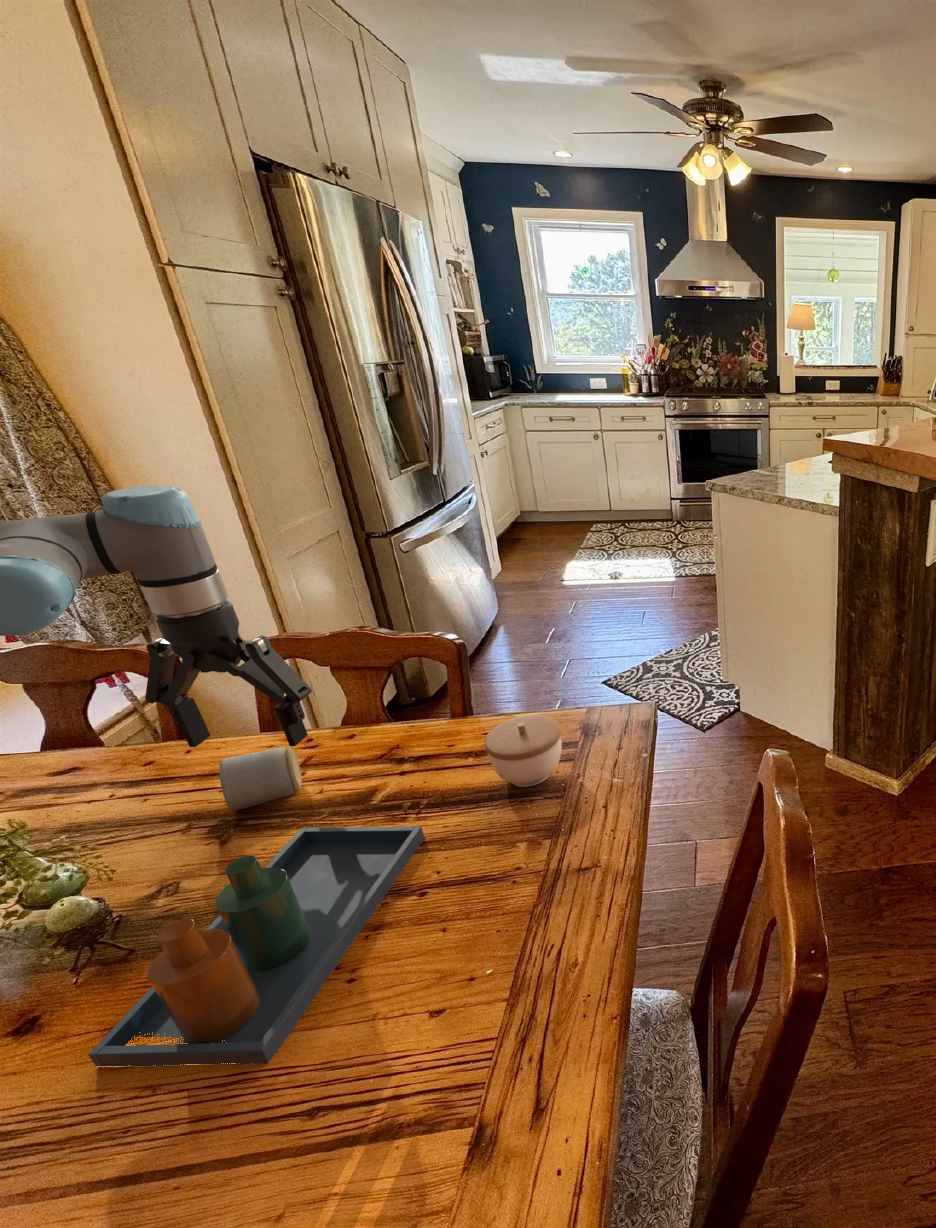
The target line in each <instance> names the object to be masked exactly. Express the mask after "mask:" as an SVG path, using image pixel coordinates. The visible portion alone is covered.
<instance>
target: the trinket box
mask: <svg viewBox="0 0 936 1228" xmlns="http://www.w3.org/2000/svg"><path fill="white" fill-rule="evenodd" d="M484 748H485V750H486V753H487V757H488V759H489V762H490V765H491V767H492V769H493V770H494V772H495V774H497V776H498V777H500V779H502V780H504V781H505V782H507V783H509V784H512V785H514V786H516V787H521V788H527V787H533V786H536V785H539V784H541V783H543V782H544V781H546V779H548V778H549V777H550V776H551V774H552V773H553V772H554V770H555V769H556V768H557V766H558V765H559V762H560V760H561V758H562V750H563V741H562V730H561V724H560V723H559V722H558V720H556V719H555V718H553V717H551V716H549V715H544V714H525V715H519V716H516V717H512V718H510V719H507V720H504V721H502V722H500V723H498V724H497V725H495V726H494V727H493V728H492V729H490V731H489V732H487V734H486V736H485V738H484Z"/></svg>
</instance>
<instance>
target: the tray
mask: <svg viewBox="0 0 936 1228" xmlns="http://www.w3.org/2000/svg"><path fill="white" fill-rule="evenodd" d="M424 840H425V834H424V832H423V827H422V826H339V827H338V826H337V827H336V826H332V827H331V826H329V827H328V826H327V827H323V826H321V827H319V826H318V827H317V826H316V827H301V828H300V829H299V831H297V833H295V835H293V836H292V838H291V839H290V840H289V841H288V842H287V843H286V844H285V845H284V846H283V847H282V848H281V849H280V850H279V852H278V853H277V854H276V855H275V856H274V857H272V859H271V860H270V861H268V863H267V864H266V866H264V868H270V867H275V868H280V869H282V870H284V871H285V872H286V873H287V876H288V878H289V880H290V883H291V885H292V888H293V890H294V892H295V895H296V897H297V899H298V902H299V904H300V907H301V909H302V911H303V914H304V916H305V918H306V921H307V923H308V926H309V928H310V930H311V938H310V940H309V942H308V944H307V945H306V947H305V948H304V949H303V950H302V951H301V952H300V953H299V954H298V955H297V956H295V957H294V958H293V959H291V960H290V961H288V962H286V963H284V964H282V965H280V966H278V967H275V968H273V969H269V970H264V971H254V970H250V969H248V968H247V967H246V966H245V967H246V969H247V971H248V973H249V975H250V977H251V979H252V981H253V983H254V985H255V987H256V989H257V991H258V993H259V995H260V1004H259V1007H258V1009H257V1011H256V1012H255V1014H254V1015H253V1016H252V1018H251V1019H250V1020H249V1021H248V1022H247V1023H246V1024H245V1025H244V1026H243V1027H241V1028H240V1029H239V1030H238V1031H236V1032H235V1033H233V1034H232V1035H230V1036H228V1037H226V1038H224V1039H222V1040H223V1042H222V1040H220V1041H218V1042H215V1043H213V1044H180V1040H181V1039H182V1040H181V1043H182V1041H183V1043H186V1042H185V1040H183V1038H180V1037H182V1036H181V1034H180V1032H179V1031H178V1029H177V1027H176V1026H175V1024H174V1022H173V1020H172V1019H171V1017H170V1015H169V1014H168V1012H167V1010H166V1009H165V1007H164V1005H163V1004H162V1002H161V1000H160V999H159V997H158V995H157V994H156V992H155V990H154V989H153V987H152V986H151V987H150V988H149V989H148V991H146V993H144V994H143V996H142V997H140V999H139V1000H138V1001H137V1002H136V1003H135V1004H134V1005H133V1006H132V1007H131V1008H130V1009H129V1011H127V1013H126V1014H125V1015H124V1016H123V1017H122V1018H121V1019H120V1020H119V1021H118V1022H117V1023H116V1024H115V1025H114V1027H113V1028H112V1029H110V1030H109V1032H108V1033H107V1034H106V1035H105V1036H104V1037H103V1038H102V1039H101V1040H100V1041H99V1042H98V1043H97V1044H96V1046H94V1047H93V1049H92V1050H91V1051H90V1052H89V1053H88V1054H87V1055H88V1057H89V1059H90V1060H91V1061H92V1063H93V1064H94V1066H95V1067H96V1066H128V1065H129V1066H130V1065H131V1066H153V1065H154V1066H155V1065H156V1066H163V1065H164V1066H163V1067H168V1066H167V1065H180V1064H181V1065H182V1064H183V1065H184V1064H185V1065H186V1064H221V1063H222V1064H223V1063H224V1064H225V1063H226V1064H227V1063H228V1064H229V1063H230V1064H231V1063H236V1065H239V1064H238V1063H241V1064H240V1065H247V1064H246V1063H249V1064H248V1065H251V1064H250V1063H257V1064H256V1065H261V1064H260V1063H263V1064H262V1065H264V1064H265V1063H266V1064H265V1065H268V1064H267V1063H269V1061H270V1060H271V1059H272V1060H273V1058H274V1057H275V1055H276V1054H277V1053H278V1051H279V1050H278V1049H280V1048H281V1047H282V1045H283V1044H284V1043H285V1041H286V1040H287V1038H288V1037H289V1035H290V1034H291V1032H292V1031H293V1029H294V1028H295V1026H296V1025H297V1024H298V1022H299V1020H300V1019H301V1018H302V1016H303V1015H304V1014H305V1012H306V1011H307V1009H309V1006H310V1005H311V1004H312V1002H313V1001H314V999H315V997H316V996H317V995H318V993H319V992H320V991H321V990H322V987H323V986H324V985H325V983H326V982H327V981H328V979H329V977H330V976H331V975H332V973H333V972H334V970H335V969H336V967H337V966H338V964H339V963H340V961H341V959H343V958H344V956H345V954H346V953H347V952H348V950H349V949H350V947H351V946H352V944H353V943H354V941H355V940H356V938H357V937H358V936H359V934H360V932H361V931H362V930H363V928H364V927H365V925H366V924H367V923H368V921H369V920H370V918H371V917H372V915H373V914H374V912H375V911H376V910H377V908H378V906H379V905H380V904H381V902H382V900H383V899H384V897H386V895H387V893H388V892H389V890H390V889H391V887H393V885H394V884H395V881H396V880H397V879H398V877H399V876H400V875H401V874H402V872H403V870H404V869H405V868H406V866H407V864H408V863H409V862H410V860H411V859H412V857H413V856H414V854H415V853H416V851H417V850H418V848H419V847H420V845H421V844H422V843H423V841H424ZM209 929H221V930H224V931H226V932H228V930H227V928H226V926H225V924H224V921H223V919H222V917H221V915H220V914H219V915H218V916H217V917H216V918H215V919H214V920H213V921H212V922H211V923H210V924H209V925H208V927H207V928H206V929H205V930H209ZM228 933H229V932H228ZM229 935H230V934H229ZM230 937H231V936H230ZM231 939H232V938H231ZM232 941H233V940H232ZM233 943H234V942H233ZM234 945H235V944H234ZM235 947H236V946H235ZM236 949H237V948H236ZM237 951H238V950H237ZM238 953H239V952H238ZM239 955H240V954H239ZM240 957H241V956H240ZM241 959H242V958H241ZM242 961H243V960H242ZM243 963H244V962H243ZM244 965H245V964H244ZM139 1032H141V1033H139ZM152 1032H153V1035H152ZM147 1033H148V1035H147ZM149 1033H150V1035H149ZM164 1033H165V1035H164ZM144 1034H146V1035H145V1036H144ZM157 1034H158V1036H157ZM159 1034H160V1036H159ZM174 1034H175V1035H174ZM134 1035H135V1037H137V1036H138V1037H139V1036H140V1035H141V1037H146V1038H147V1037H152V1036H153V1037H154V1035H155V1037H156V1038H157V1037H160V1038H161V1037H162V1038H163V1037H164V1036H165V1037H172V1039H173V1038H174V1037H175V1039H176V1037H177V1038H179V1041H178V1039H177V1042H178V1043H179V1044H175V1045H136V1046H125V1044H127V1043H128V1041H130V1040H131V1038H132V1037H133V1038H132V1040H133V1041H134ZM142 1035H143V1036H142ZM169 1035H170V1036H169ZM156 1038H155V1039H156ZM135 1039H136V1038H135ZM143 1039H144V1038H143ZM158 1039H159V1038H158ZM168 1039H169V1038H168ZM168 1039H167V1041H168ZM138 1040H139V1038H138ZM153 1040H154V1039H153ZM170 1040H171V1038H170ZM224 1040H225V1041H224ZM148 1041H149V1040H148ZM150 1041H151V1040H150ZM165 1041H166V1040H165ZM173 1041H174V1040H172V1043H173ZM175 1041H176V1040H175ZM135 1042H136V1041H135ZM137 1042H138V1041H137ZM143 1042H144V1041H143ZM160 1042H161V1040H160ZM162 1042H163V1040H162ZM177 1042H176V1043H177ZM226 1042H227V1043H226ZM130 1043H131V1042H130ZM132 1043H133V1042H132ZM155 1043H156V1041H155ZM164 1043H165V1042H164ZM167 1043H168V1042H167ZM275 1053H276V1054H275ZM274 1054H275V1055H274ZM273 1056H274V1057H273ZM272 1057H273V1058H272ZM272 1060H271V1061H272ZM271 1061H270V1062H271ZM244 1063H245V1064H244ZM258 1063H259V1064H258ZM269 1064H270V1063H269ZM165 1065H166V1066H165Z"/></svg>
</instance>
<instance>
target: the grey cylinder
mask: <svg viewBox="0 0 936 1228" xmlns="http://www.w3.org/2000/svg"><path fill="white" fill-rule="evenodd" d="M218 773H219V775H218V777H219V782H220V787H221V792H222V795H223V798H224V802H225V803H226V805H227V807H228V809H229V810H230V811H231V812H236V811H240V810H244V809H247V808H251V807H254V806H258V805H261V804H265V803H268V802H271V801H276V800H279V799H283V798H286V797H289V796H291V795H294V794H296V793H298V792H299V791H300V790H301V788H302V786H303V785H302V784H303V781H302V773H301V767H300V762H299V759H298V756H297V754H296V751H295V749H293V748H291V747H276V748H270V749H266V750H262V751H257V752H252V753H246V754H241V755H235V756H230V757H225V758H222V759H221V760H220V763H219V771H218Z"/></svg>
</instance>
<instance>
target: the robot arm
mask: <svg viewBox="0 0 936 1228" xmlns="http://www.w3.org/2000/svg"><path fill="white" fill-rule="evenodd" d="M101 503H102V506H101V509H98V510H96V511H90V512H82V513H72V514H63V515H54V516H53V515H52V516H44V517H34V518H26V519H25V518H24V519H16V520H15V519H14V520H6V519H2V520H0V637H13V636H22V635H27V634H32V633H34V632H38V631H40V630H42V629H45V628H46V627H48V626H50V625H51V624H53V623H54V622H55V621H56V620H57V619H58V618H60V616H61V615H62V614H63V613H65V612H66V611H67V609H68V608H69V607H70V605H71V604H73V602H74V599H75V597H76V591H77V589H78V587H79V585H80V584H81V582H82V581H83V580H88V579H93V578H94V579H95V578H100V577H105V576H106V577H107V576H111V575H119V574H120V575H121V574H123V573H129V572H132V573H133V574H134V576H135V577H136V580H137V582H138V584H139V587H140V588H141V591H142V594H143V596H144V599H145V600H146V603H147V605H148V607H149V610H150V612H151V613H152V614H154V615H156V616H155V618H154V620H155V622H156V625H157V627H158V629H159V631H160V632H161V637H159V638H157V639H155V640H153V641H151V642H150V643H148V644H146V646H145V647H146V650H147V653H148V656H149V666H148V674H147V680H146V681H147V682H146V690H145V698H144V699H145V701H146V703H148V704H155V703H159V704H161V705H162V706H163V707H164V708H167V710H168V712H169V714H170V716H171V718H172V720H173V722H174V723H175V724H176V725H177V726H179V728H180V729H181V732H182V734H183V736H184V738H185V740H186V742H187V745H188V747H189V748H196V747H198V746H200V745H201V744H202V743H203V742H205V741H206V740H207V739H208V738H211V733H210V731H209V729H208V727H207V725H206V722H205V720H204V717H203V715H202V714H201V711H200V709H199V707H198V705H197V703H196V700H195V698H194V697H188V696H190V693H189V691H190V690H191V688H192V686H193V685H194V682H195V681H196V679H197V677H198V676H199V674H200V673H202V674H203V673H212V672H215V673H219V674H220V673H228V674H229V675H231V676H233V677H239V678H241V679H242V680H244V681H245V682H246V683H248V684H249V685H251V686H252V687H253V688H255V689H257V690H258V691H259V692H261V693H263V694H264V695H266V696H267V697H268V698H270V699H271V700H272V701H274V702H275V703H277V705H276V706H274V710H275V713H276V715H277V718H278V720H279V722H280V726H281V727H282V730H283V733H284V735H285V738H286V739H287V740H286V741H287V743H288V746H289V747H296V746H298V744H300V743H301V742H302V741H303V740H304V739H305V738H306V737H308V736H309V734H308V731H307V729H306V726H305V724H304V721H303V720H304V719H305V717H306V714H305V712H304V709H303V705H302V704H301V703H302V702H301V701H303V700H304V699H305V698H306V697H308V696H309V695H310V694H311V693H312V692H313V690H312V688H311V687H310V685H308V684H307V683H306V681H305V680H304V679H303V678H302V677H301V676H299V674H298V673H297V672H296V671H295V670H294V669H293V668H292V666H290V665H289V664H288V663H287V662H286V661H285V660H284V659H283V658H282V657H281V656H280V654H279V653H277V651H275V650H274V648H273V646H272V644H271V642H270V639H269V638H268V637H267V636H266V635H263V634H262V635H259V636H258V637H256V638H253V639H244V638H243V637H242V636H241V634H240V633H239V628H240V620H239V618H238V615H237V613H236V610H235V608H234V604H233V602H232V601H230V600H228V598H229V593H228V591H227V589H226V586H225V583H224V581H223V579H222V576H221V573H220V570H219V568H218V566H217V563H216V560H215V557H214V555H213V552H212V549H211V547H210V545H209V542H208V539H207V536H206V533H205V531H204V529H203V528H204V527H203V525H202V523H201V519H200V517H198V515H197V513H196V510H195V508H194V506H193V504H192V502H191V500H190V498H189V496H188V494H187V493H186V492H185V491H184V490H183V489H181V488H179V487H177V486H173V485H166V484H152V485H139V486H138V485H137V486H133V487H129V488H120V489H116V490H112V491H109V492H107V493H105V494H103V495H102V497H101ZM176 655H177V656H178V657H179V658H180V659H181V662H180V664H179V665H178V666H177V667H178V668H177V669H176V672H177V673H176V674H175V676H174V678H173V675H174V669H175V662H176ZM241 661H243V663H242V664H240V663H241ZM239 664H240V665H239ZM284 694H285V695H284ZM186 697H187V698H186ZM184 698H185V699H184Z"/></svg>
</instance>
